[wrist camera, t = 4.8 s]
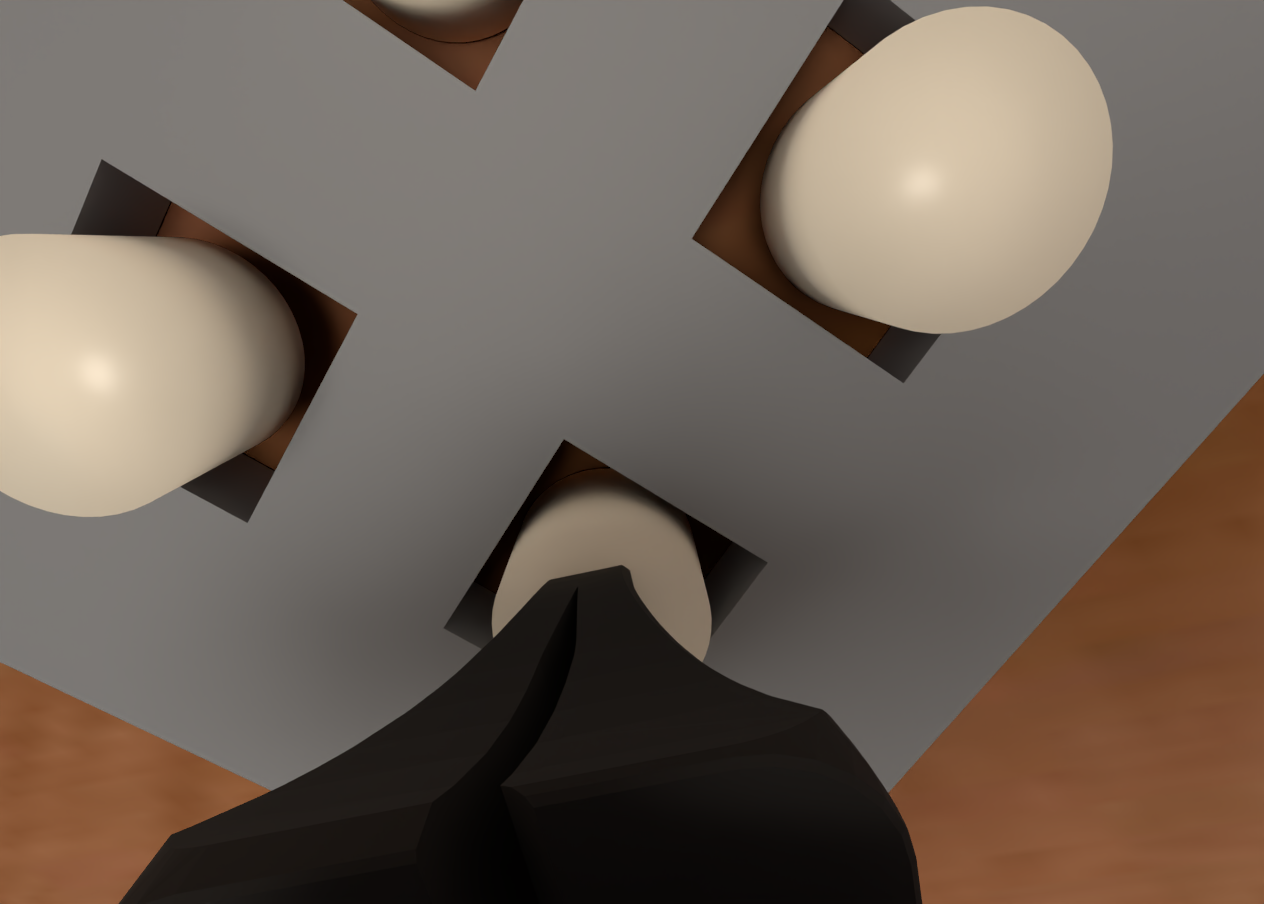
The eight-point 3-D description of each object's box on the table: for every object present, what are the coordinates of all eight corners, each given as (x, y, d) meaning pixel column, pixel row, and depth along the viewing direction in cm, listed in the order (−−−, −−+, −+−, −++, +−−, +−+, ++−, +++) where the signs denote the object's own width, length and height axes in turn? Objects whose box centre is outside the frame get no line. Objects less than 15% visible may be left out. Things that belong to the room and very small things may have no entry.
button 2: (729, 527, 14) (754, 596, 11) (632, 659, 15) (634, 753, 12) (576, 434, 14) (565, 483, 11) (485, 577, 14) (452, 657, 12)
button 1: (1036, 160, 11) (1177, 129, 8) (891, 354, 12) (975, 387, 9) (853, 18, 10) (938, -67, 8) (715, 233, 11) (745, 228, 8)
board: (1411, 74, 12) (1560, 41, 10) (696, 912, 17) (706, 996, 15) (220, -1012, 9) (101, -1376, 7) (-239, 448, 14) (-381, 480, 12)
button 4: (341, 317, 11) (252, 339, 9) (250, 492, 12) (140, 563, 10) (131, 191, 11) (-38, 171, 8) (51, 383, 12) (-128, 425, 9)
